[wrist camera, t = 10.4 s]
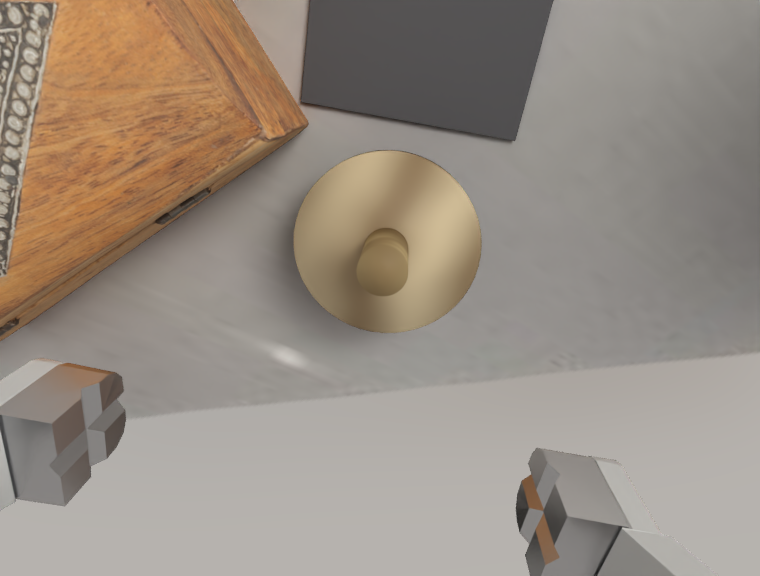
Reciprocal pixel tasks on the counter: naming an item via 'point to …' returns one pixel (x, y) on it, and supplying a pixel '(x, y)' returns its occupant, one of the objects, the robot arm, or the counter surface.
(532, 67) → the mat
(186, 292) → the counter surface
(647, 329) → the counter surface
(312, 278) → the lid
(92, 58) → the wooden box
